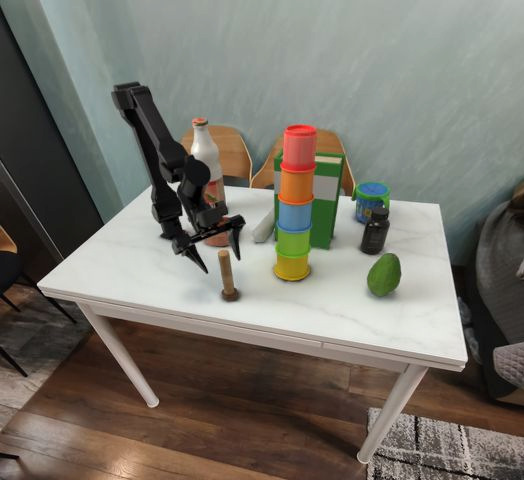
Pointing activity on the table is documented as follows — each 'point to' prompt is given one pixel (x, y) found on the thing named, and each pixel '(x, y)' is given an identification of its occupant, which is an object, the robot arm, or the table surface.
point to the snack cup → (370, 199)
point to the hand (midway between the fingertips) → (224, 266)
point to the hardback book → (317, 196)
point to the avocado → (384, 275)
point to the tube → (264, 227)
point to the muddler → (227, 276)
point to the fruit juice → (208, 160)
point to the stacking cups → (295, 202)
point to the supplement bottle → (375, 231)
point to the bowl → (219, 237)
